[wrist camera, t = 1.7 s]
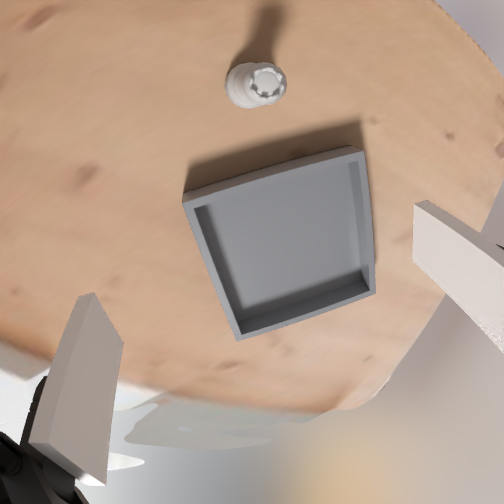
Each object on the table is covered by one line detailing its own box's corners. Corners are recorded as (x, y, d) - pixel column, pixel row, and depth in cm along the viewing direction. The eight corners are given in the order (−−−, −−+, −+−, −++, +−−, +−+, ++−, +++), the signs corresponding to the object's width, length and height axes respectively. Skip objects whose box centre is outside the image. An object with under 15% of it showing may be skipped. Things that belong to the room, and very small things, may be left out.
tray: (182, 193, 30) (182, 203, 28) (350, 145, 31) (363, 150, 28) (233, 325, 39) (236, 341, 37) (365, 280, 40) (375, 293, 37)
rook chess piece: (279, 73, 26) (308, 68, 20) (261, 115, 28) (285, 123, 21) (234, 56, 25) (249, 43, 18) (216, 99, 27) (225, 100, 20)
